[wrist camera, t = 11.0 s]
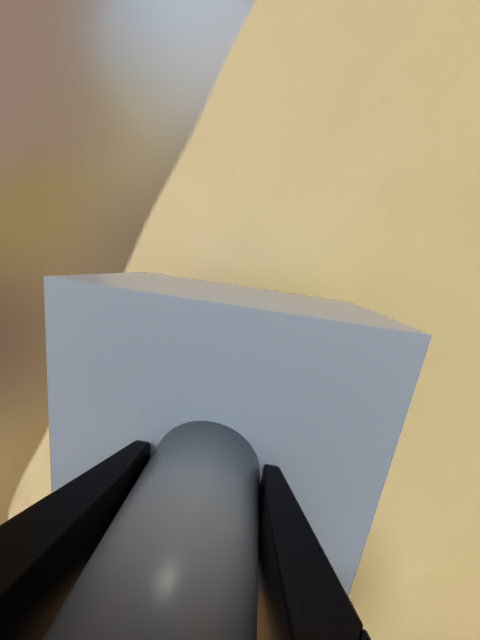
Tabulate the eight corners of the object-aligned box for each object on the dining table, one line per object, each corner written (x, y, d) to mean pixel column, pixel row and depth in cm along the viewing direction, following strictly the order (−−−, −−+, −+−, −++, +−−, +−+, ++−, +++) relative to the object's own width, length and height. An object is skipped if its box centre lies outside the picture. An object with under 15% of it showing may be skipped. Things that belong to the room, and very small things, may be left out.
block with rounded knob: (351, 302, 12) (818, 493, 2) (309, 480, 14) (416, 1000, 4) (144, 272, 12) (-333, 291, 2) (135, 446, 14) (-136, 821, 5)
